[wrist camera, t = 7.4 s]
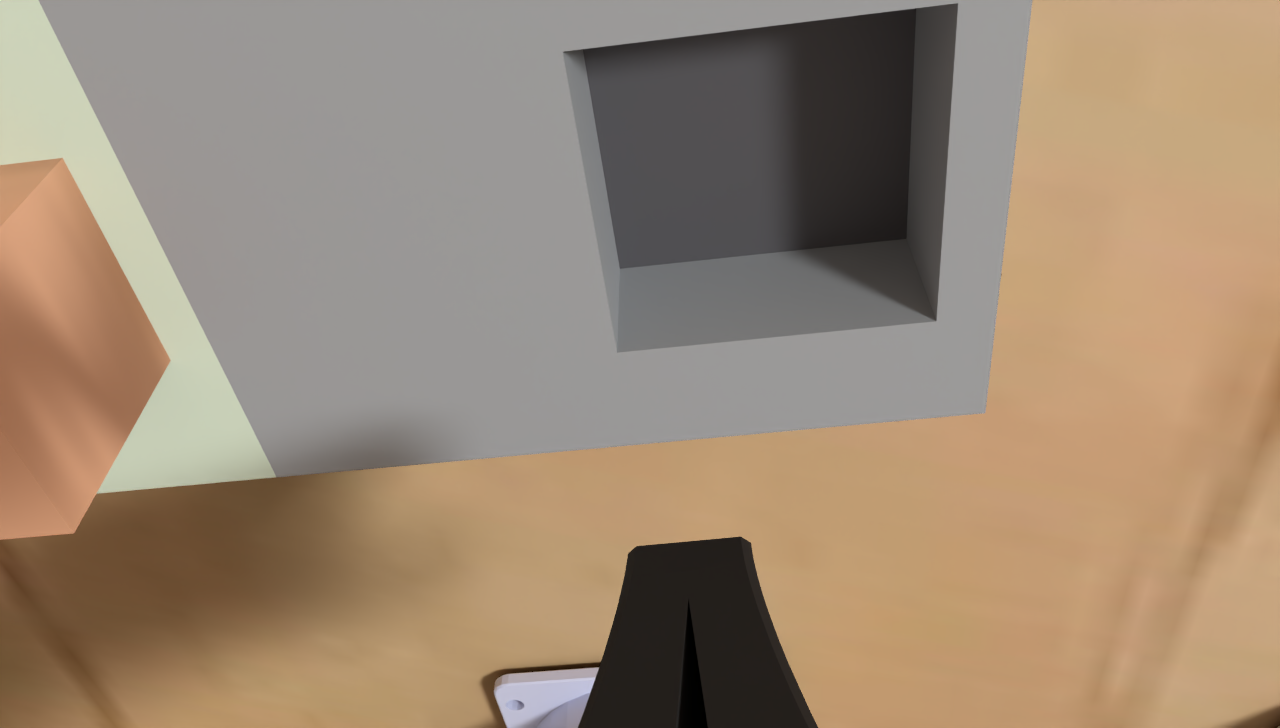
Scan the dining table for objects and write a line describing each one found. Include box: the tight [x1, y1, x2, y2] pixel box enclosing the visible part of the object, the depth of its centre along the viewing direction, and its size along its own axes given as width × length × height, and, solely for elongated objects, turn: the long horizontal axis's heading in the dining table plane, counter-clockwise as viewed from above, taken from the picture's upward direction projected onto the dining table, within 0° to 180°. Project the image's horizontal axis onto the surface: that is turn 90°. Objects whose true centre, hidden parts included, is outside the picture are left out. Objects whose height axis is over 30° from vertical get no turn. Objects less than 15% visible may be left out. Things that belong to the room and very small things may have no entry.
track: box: [0, 0, 1032, 494], centre depth 18 cm, size 10×26×3 cm, turn 97°
